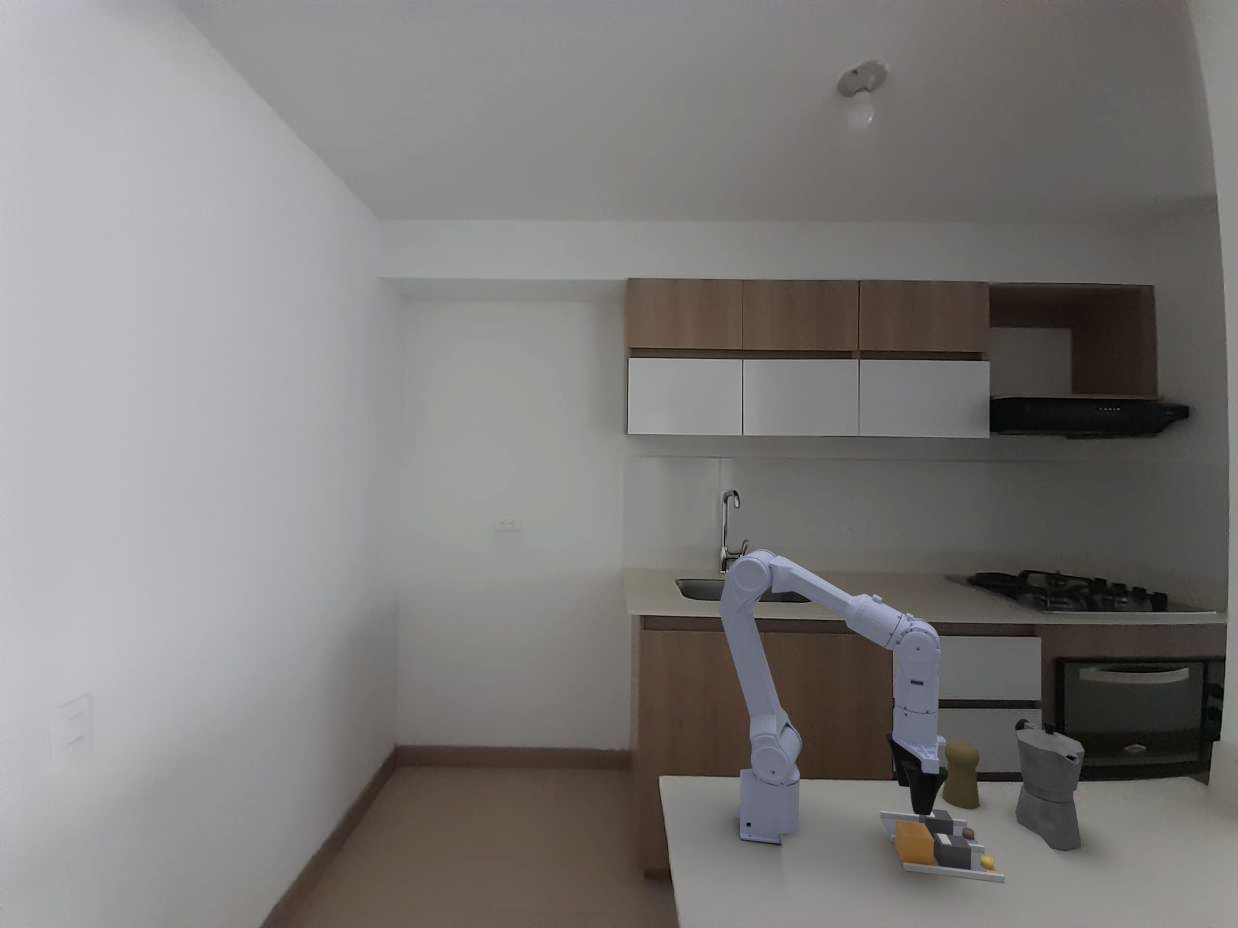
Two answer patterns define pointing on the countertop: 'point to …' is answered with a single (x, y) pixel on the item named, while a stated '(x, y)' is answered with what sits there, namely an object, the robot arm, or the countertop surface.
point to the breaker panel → (979, 860)
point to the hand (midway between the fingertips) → (913, 799)
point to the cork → (961, 776)
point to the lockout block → (914, 843)
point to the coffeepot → (1049, 784)
